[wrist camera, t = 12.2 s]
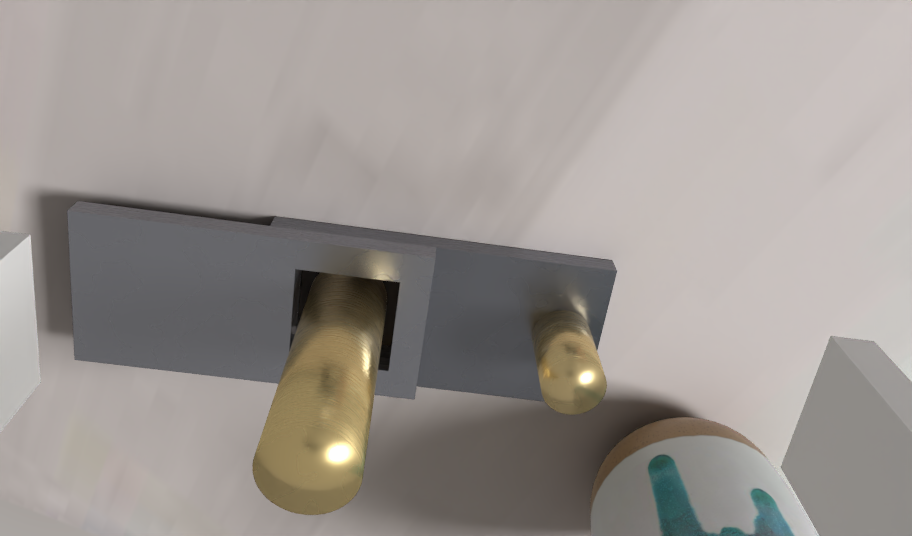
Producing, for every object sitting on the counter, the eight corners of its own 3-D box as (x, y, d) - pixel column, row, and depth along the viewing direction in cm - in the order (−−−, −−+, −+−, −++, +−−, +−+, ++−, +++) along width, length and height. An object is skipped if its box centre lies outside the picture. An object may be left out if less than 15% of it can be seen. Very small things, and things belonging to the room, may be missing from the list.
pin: (312, 258, 42) (255, 420, 30) (391, 268, 43) (368, 433, 30) (307, 327, 44) (250, 508, 31) (383, 336, 44) (357, 520, 32)
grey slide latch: (88, 191, 41) (33, 240, 35) (612, 260, 43) (636, 316, 37) (93, 334, 44) (44, 399, 39) (579, 392, 46) (597, 462, 41)
